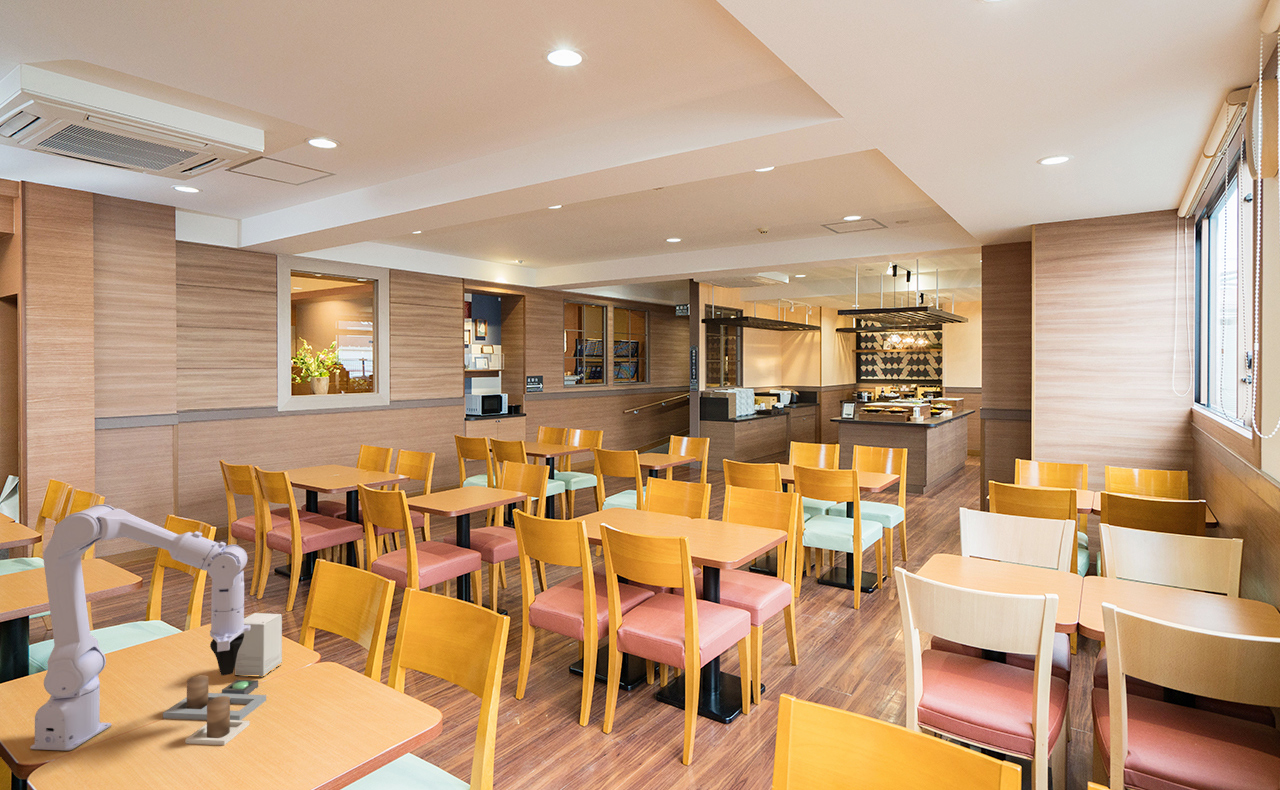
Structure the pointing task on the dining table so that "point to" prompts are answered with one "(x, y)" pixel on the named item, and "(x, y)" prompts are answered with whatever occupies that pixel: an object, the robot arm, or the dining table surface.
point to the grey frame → (201, 714)
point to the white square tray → (201, 738)
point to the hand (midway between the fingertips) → (227, 673)
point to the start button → (240, 685)
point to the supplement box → (260, 645)
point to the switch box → (251, 686)
